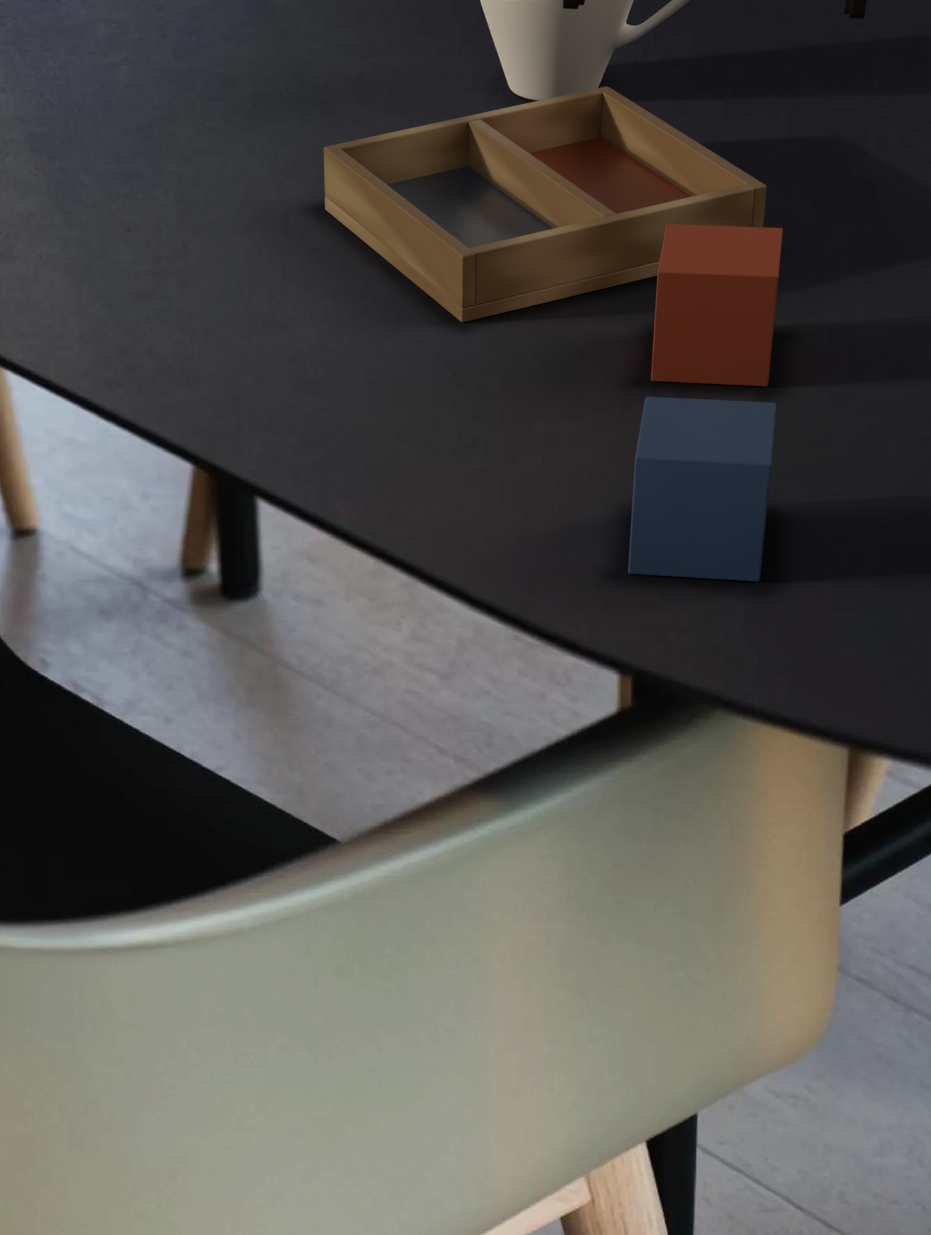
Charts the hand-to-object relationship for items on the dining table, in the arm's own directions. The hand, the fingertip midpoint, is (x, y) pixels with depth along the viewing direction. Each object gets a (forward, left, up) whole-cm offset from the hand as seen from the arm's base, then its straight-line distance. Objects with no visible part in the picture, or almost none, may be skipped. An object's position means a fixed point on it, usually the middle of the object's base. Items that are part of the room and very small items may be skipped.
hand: (714, 0), depth 88 cm
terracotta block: (-1, 0, -14) cm, 14 cm away
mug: (-11, -27, -14) cm, 32 cm away
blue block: (+7, +12, -14) cm, 19 cm away
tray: (-1, -14, -14) cm, 20 cm away
